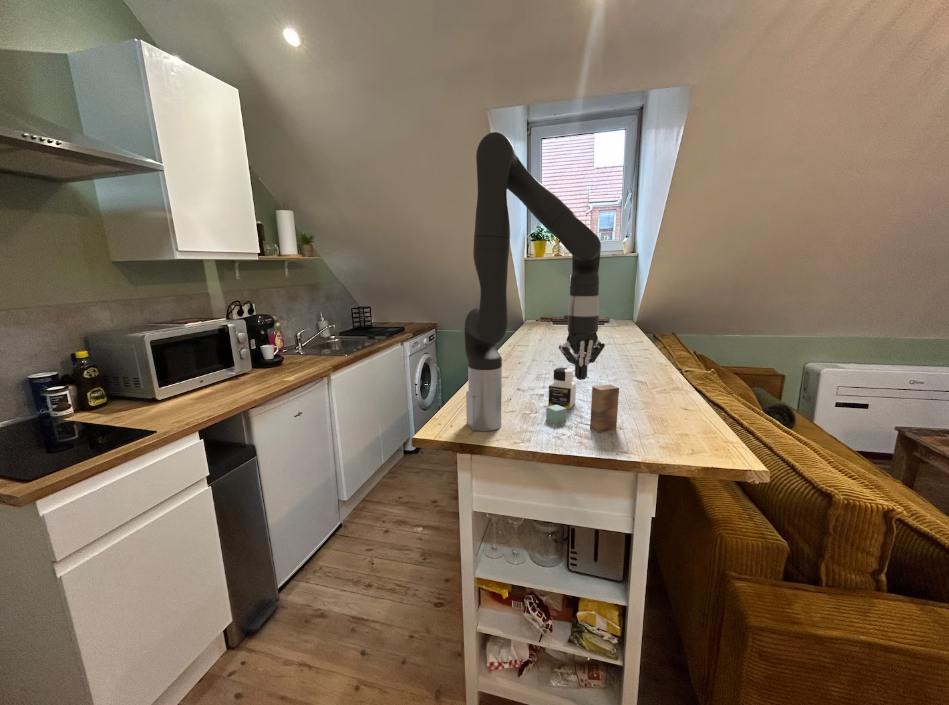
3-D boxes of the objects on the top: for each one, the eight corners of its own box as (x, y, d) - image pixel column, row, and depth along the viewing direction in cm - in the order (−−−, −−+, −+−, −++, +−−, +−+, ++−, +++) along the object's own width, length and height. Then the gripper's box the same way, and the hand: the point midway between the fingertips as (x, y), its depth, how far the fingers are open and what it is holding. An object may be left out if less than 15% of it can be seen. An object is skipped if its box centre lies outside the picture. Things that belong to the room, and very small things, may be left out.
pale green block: (555, 424, 115) (556, 410, 114) (546, 420, 118) (546, 407, 117) (565, 421, 117) (566, 408, 116) (556, 417, 120) (556, 404, 119)
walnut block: (597, 432, 108) (600, 390, 106) (589, 428, 112) (592, 386, 109) (616, 429, 110) (619, 387, 108) (608, 425, 113) (610, 384, 111)
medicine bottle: (548, 405, 130) (549, 370, 127) (554, 399, 136) (555, 365, 134) (569, 409, 127) (571, 372, 124) (575, 402, 133) (577, 367, 130)
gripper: (568, 316, 97) (566, 385, 100) (614, 313, 101) (610, 380, 104) (552, 313, 103) (551, 378, 107) (596, 310, 108) (593, 373, 111)
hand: (580, 378), depth 106 cm, fingers closed
